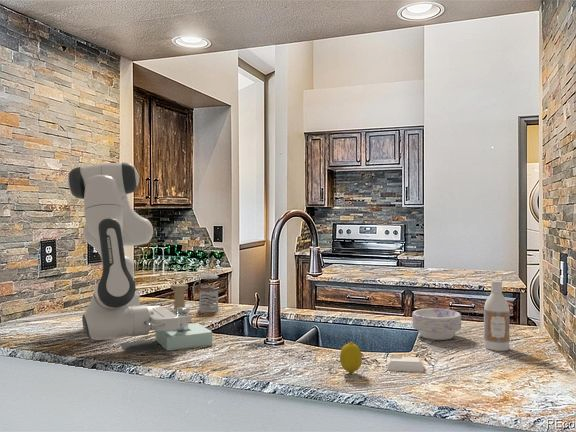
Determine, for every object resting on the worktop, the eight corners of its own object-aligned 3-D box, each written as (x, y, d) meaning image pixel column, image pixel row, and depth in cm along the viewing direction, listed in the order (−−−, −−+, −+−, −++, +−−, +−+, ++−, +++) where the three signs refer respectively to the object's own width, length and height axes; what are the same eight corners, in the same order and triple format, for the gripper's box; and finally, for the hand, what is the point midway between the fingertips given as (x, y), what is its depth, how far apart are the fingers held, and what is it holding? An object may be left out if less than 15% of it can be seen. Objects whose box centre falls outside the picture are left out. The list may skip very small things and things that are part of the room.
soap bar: (423, 373, 125) (423, 362, 125) (387, 371, 127) (387, 361, 127) (421, 366, 130) (421, 357, 130) (386, 365, 131) (386, 355, 131)
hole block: (155, 340, 157) (155, 328, 157) (197, 334, 164) (197, 322, 164) (167, 351, 145) (167, 337, 145) (212, 344, 151) (212, 331, 151)
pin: (175, 342, 155) (175, 307, 155) (187, 340, 157) (187, 306, 157) (179, 345, 151) (178, 310, 151) (191, 343, 153) (191, 308, 153)
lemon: (338, 370, 126) (337, 339, 126) (359, 369, 127) (359, 338, 127) (342, 377, 121) (342, 345, 121) (364, 377, 121) (364, 344, 121)
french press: (218, 312, 201) (218, 250, 201) (190, 312, 201) (190, 251, 201) (222, 307, 211) (222, 249, 211) (195, 307, 211) (195, 249, 211)
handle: (181, 329, 171) (181, 286, 171) (168, 327, 175) (167, 285, 174) (191, 326, 175) (190, 284, 175) (177, 324, 179) (177, 283, 179)
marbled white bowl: (403, 337, 159) (403, 312, 159) (425, 329, 170) (425, 306, 170) (448, 346, 149) (448, 319, 149) (469, 336, 160) (469, 312, 160)
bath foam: (485, 350, 144) (484, 282, 143) (483, 344, 150) (483, 279, 150) (511, 352, 142) (510, 283, 141) (507, 346, 148) (507, 279, 148)
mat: (119, 344, 152) (119, 343, 152) (151, 340, 157) (151, 339, 157) (126, 354, 142) (126, 353, 142) (161, 349, 147) (161, 348, 147)
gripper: (149, 316, 139) (196, 311, 145) (134, 304, 157) (176, 300, 163) (149, 338, 139) (196, 332, 145) (134, 324, 157) (176, 319, 163)
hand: (186, 315), depth 154 cm, fingers open, 8 cm apart
